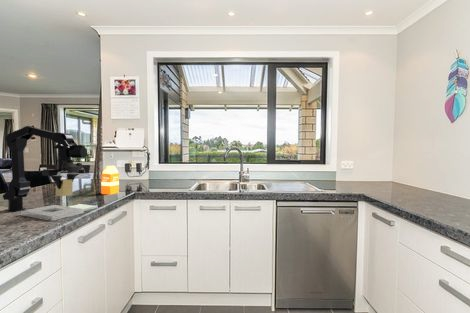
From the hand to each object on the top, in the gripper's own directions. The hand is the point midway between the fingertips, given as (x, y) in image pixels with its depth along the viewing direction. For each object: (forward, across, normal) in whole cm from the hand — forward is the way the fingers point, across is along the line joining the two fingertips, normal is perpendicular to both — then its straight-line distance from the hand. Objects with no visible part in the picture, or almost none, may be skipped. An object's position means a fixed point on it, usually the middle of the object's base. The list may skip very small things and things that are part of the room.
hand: (64, 188), depth 135 cm
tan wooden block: (+4, 0, 0) cm, 4 cm away
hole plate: (+12, -5, +1) cm, 13 cm away
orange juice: (+12, +51, +25) cm, 58 cm away
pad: (+12, +9, 0) cm, 15 cm away
